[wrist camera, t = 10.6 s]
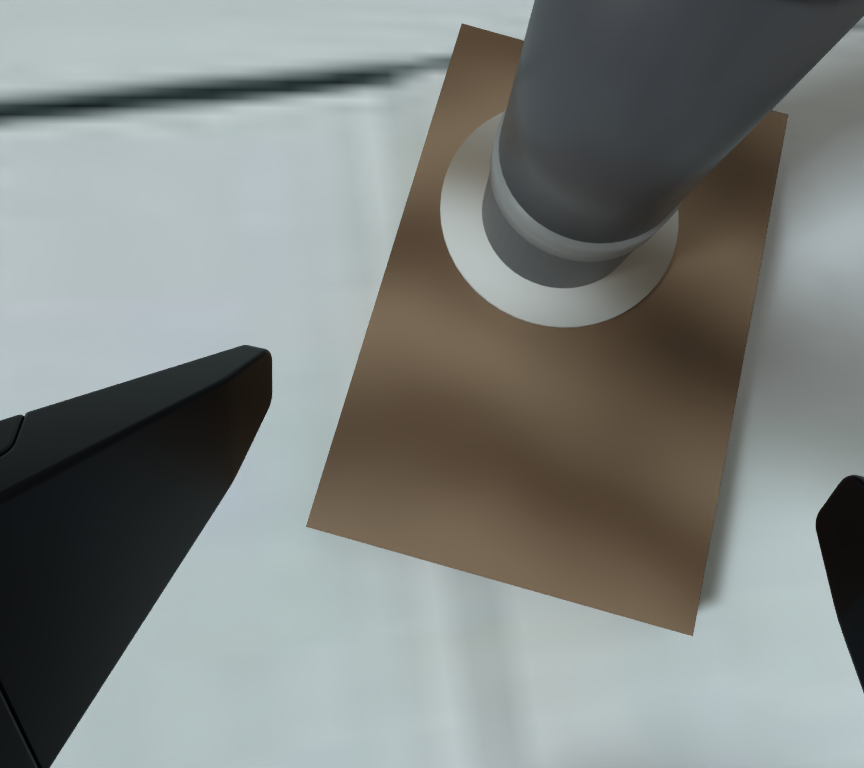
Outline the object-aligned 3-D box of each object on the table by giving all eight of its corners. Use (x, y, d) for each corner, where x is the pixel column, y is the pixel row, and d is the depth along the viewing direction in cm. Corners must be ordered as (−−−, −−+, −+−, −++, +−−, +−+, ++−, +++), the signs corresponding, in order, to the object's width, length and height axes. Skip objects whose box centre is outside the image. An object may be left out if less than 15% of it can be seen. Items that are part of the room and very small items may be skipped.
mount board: (669, 623, 18) (696, 637, 16) (314, 522, 18) (304, 527, 17) (761, 140, 21) (791, 111, 20) (458, 54, 21) (462, 19, 20)
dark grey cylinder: (653, 281, 18) (1225, -180, 5) (491, 300, 18) (696, -146, 5) (623, 132, 19) (1056, -568, 6) (468, 147, 19) (594, -559, 6)
